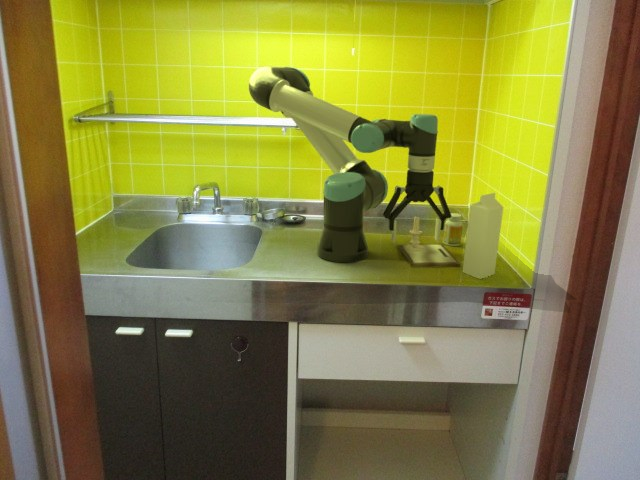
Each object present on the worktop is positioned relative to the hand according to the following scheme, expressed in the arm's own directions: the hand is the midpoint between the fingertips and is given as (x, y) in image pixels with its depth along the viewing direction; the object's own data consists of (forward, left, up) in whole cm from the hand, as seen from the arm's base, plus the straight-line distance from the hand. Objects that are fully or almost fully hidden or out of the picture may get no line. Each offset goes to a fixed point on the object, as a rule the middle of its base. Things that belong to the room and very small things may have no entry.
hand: (415, 240), depth 149 cm
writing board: (+3, -4, -4) cm, 6 cm away
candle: (0, 0, -3) cm, 3 cm away
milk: (+13, -18, -4) cm, 23 cm away
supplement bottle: (+14, +7, -4) cm, 16 cm away
